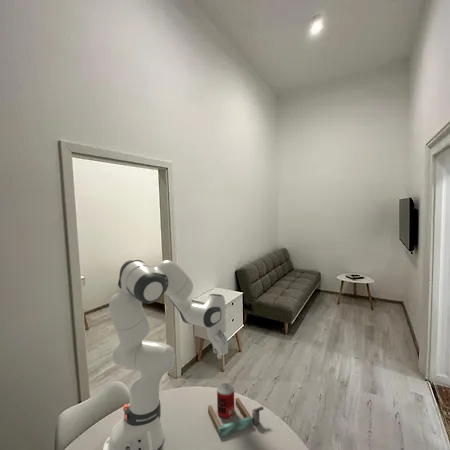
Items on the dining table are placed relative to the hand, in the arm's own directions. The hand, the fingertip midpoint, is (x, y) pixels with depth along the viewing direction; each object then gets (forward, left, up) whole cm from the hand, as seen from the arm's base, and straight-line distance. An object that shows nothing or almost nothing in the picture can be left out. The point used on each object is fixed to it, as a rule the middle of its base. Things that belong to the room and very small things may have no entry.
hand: (217, 355), depth 126 cm
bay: (+3, -15, -21) cm, 26 cm away
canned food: (0, -10, -21) cm, 24 cm away
